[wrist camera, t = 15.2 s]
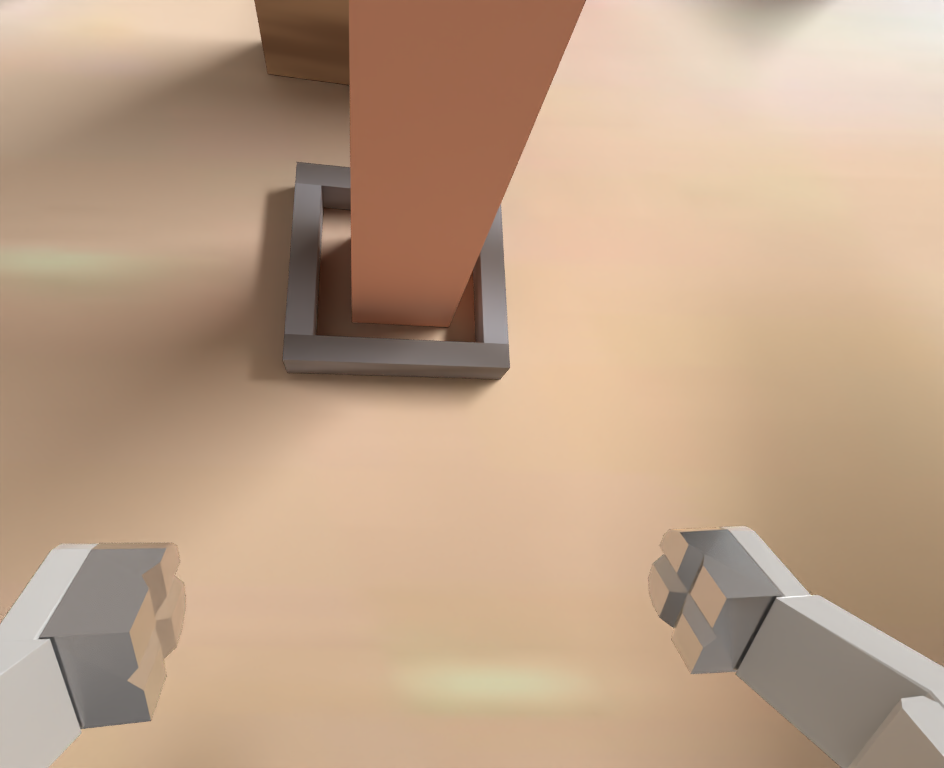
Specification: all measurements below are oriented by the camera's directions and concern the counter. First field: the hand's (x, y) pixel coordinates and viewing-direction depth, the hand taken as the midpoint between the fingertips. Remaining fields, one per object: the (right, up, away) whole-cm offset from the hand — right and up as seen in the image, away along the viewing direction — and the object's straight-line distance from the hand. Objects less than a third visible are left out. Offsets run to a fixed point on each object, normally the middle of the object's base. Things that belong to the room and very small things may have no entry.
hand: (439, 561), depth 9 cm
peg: (-2, +7, +14) cm, 16 cm away
